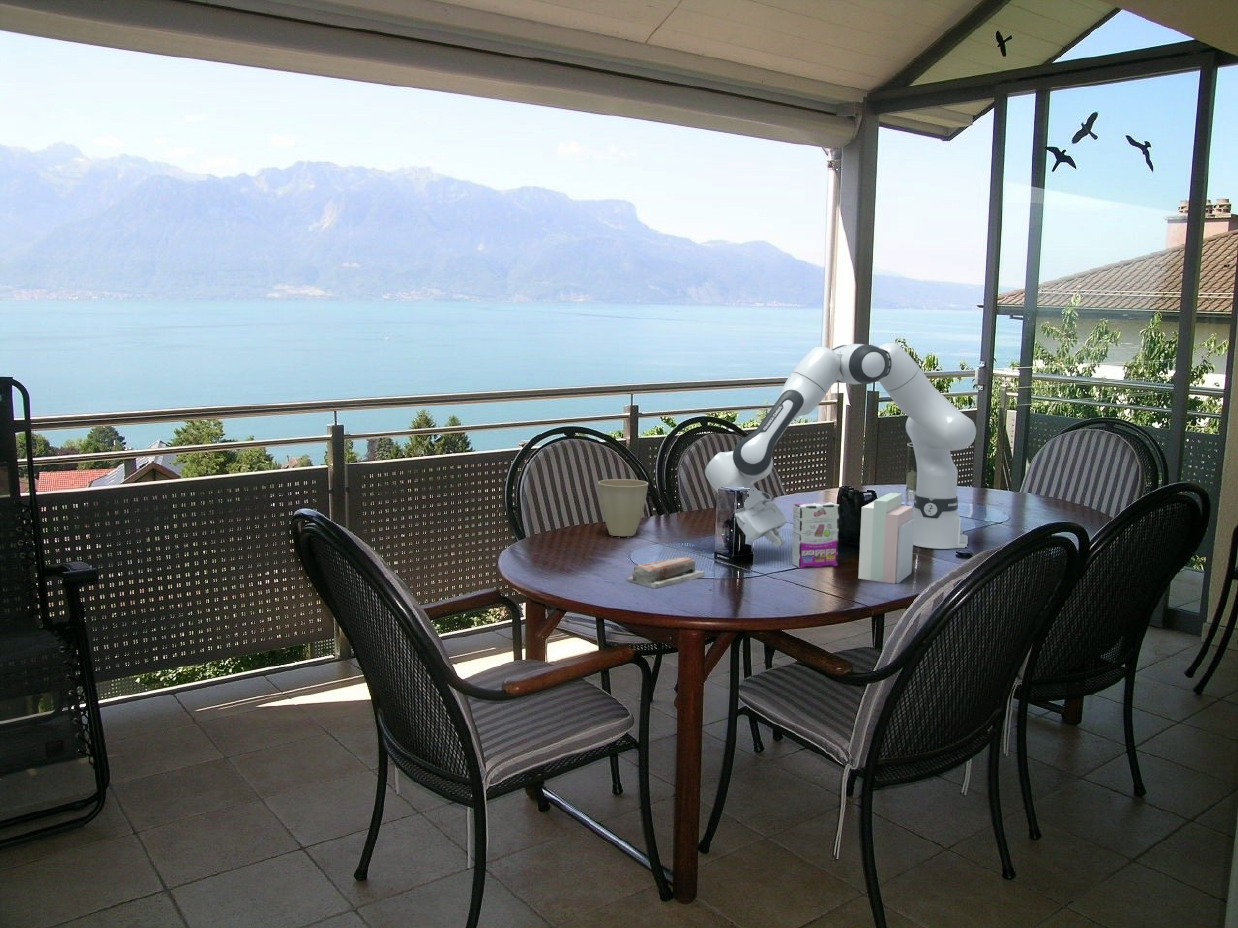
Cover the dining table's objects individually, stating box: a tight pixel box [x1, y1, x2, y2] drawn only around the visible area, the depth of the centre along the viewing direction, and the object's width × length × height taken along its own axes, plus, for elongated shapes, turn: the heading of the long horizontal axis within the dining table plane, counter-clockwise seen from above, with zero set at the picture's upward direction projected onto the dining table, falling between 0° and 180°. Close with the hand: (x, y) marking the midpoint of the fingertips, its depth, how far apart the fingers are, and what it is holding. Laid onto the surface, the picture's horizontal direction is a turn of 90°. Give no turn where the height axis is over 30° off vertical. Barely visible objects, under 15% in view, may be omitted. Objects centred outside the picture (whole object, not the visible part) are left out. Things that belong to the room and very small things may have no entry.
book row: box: [857, 492, 914, 585], centre depth 242 cm, size 14×10×20 cm
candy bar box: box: [791, 501, 840, 569], centre depth 252 cm, size 11×5×16 cm, turn 105°
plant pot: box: [597, 478, 649, 537], centre depth 287 cm, size 15×15×16 cm
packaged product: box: [625, 556, 705, 590], centre depth 238 cm, size 18×5×10 cm
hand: (781, 545), depth 257 cm, fingers closed
